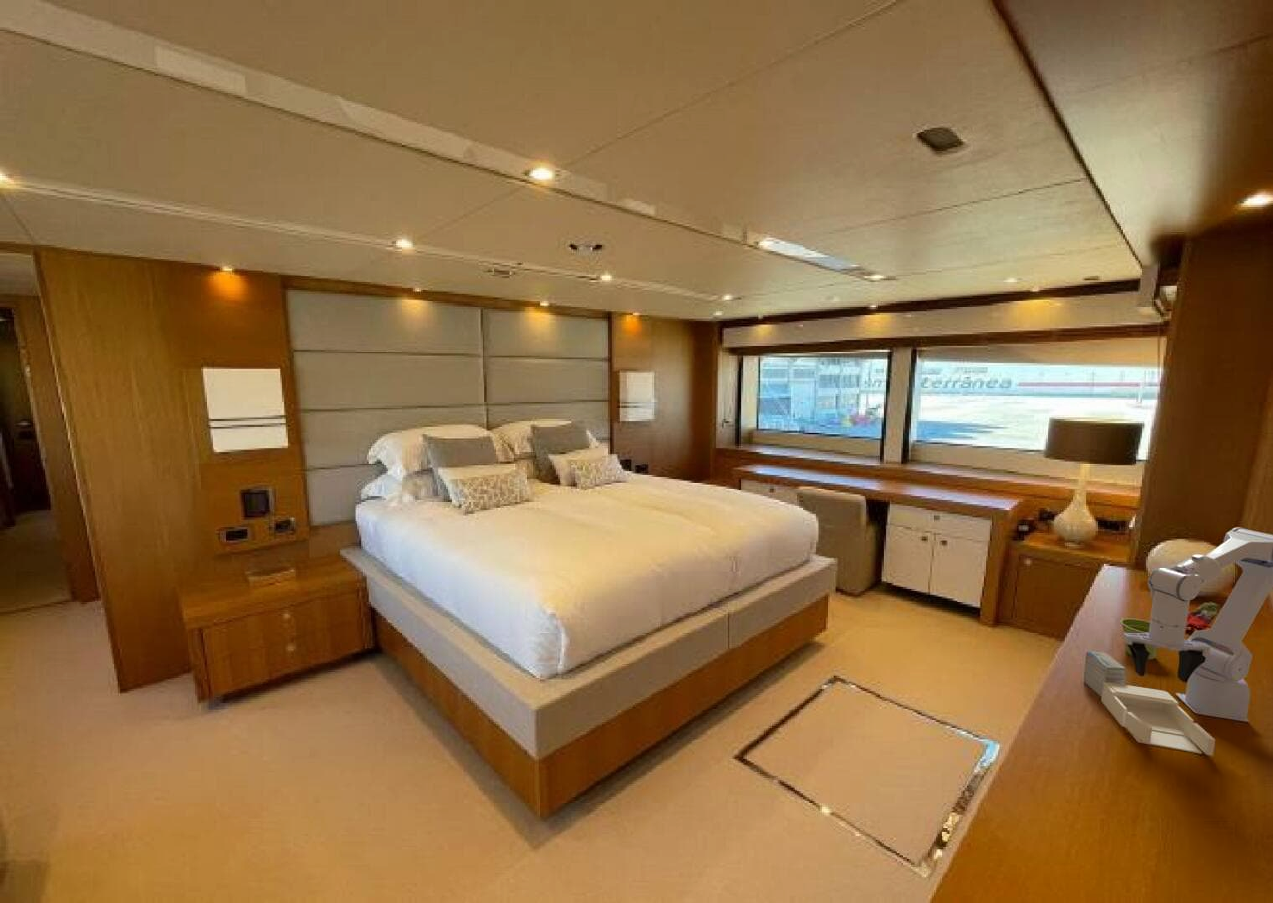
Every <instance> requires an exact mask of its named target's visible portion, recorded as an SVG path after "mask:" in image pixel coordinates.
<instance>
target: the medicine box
mask: <svg viewBox="0 0 1273 903" xmlns="http://www.w3.org/2000/svg"><path fill="white" fill-rule="evenodd" d="M1085 653H1086V654H1085V662H1084V671H1083V682H1084V684H1086V685H1087V686H1088V687H1089V688H1090V689H1091V690H1093V691H1094V692H1095V693H1096V694H1097V695H1098V696H1099V697H1101V698H1102V690H1103V682H1106V683H1107V682H1110V683H1116V684H1123V685H1126V675H1127V668H1126V667H1125V666H1124V665H1122V664H1120V662H1118V661H1117V660H1115V659H1114V657H1112V656H1110V655H1109V654H1108V653H1106V652H1099V651H1086V652H1085Z"/></svg>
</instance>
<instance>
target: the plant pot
mask: <svg viewBox="0 0 1273 903" xmlns="http://www.w3.org/2000/svg"><path fill="white" fill-rule="evenodd" d="M1120 624H1121V625H1122V628H1123V633H1149V627H1150V621H1147V620H1144V619H1137V618H1122V619H1121V620H1120ZM1145 647H1146V650H1147V651H1148V652H1149V653H1150V655H1149V656H1148V659H1147V661H1148V660H1149V661H1151V660H1153V659H1156V657H1157V653H1158V650H1159V648H1160V647H1154V646H1146V645H1145ZM1124 648H1125V652H1126V653H1127V654H1128V655H1130V656H1132V654H1131V652H1130V649H1129V647H1128V645H1127V644H1126V643H1125V642H1124Z"/></svg>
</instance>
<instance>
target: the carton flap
mask: <svg viewBox="0 0 1273 903" xmlns="http://www.w3.org/2000/svg"><path fill="white" fill-rule="evenodd" d="M1189 739H1190V740H1191V741H1192V742H1193V743H1194V745H1195V746H1196V747H1197V748H1198V749H1199V750H1200V751H1201V752H1202V753H1204V754H1205V755H1206V756H1211V757H1213V756H1214V752H1215V751H1214V750H1215V743H1216V739H1215V738H1214V737H1213V736H1212V735H1210V733H1208V732H1207V731H1206V730H1205V729H1204V728H1203V727H1201V725H1199V723H1196V722H1193V723H1191V727H1190V734H1189Z"/></svg>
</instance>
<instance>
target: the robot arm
mask: <svg viewBox="0 0 1273 903" xmlns="http://www.w3.org/2000/svg"><path fill="white" fill-rule="evenodd" d="M1232 564H1236V565H1238V566H1239V567H1240V568H1241V570H1242V573H1241V575H1240V576H1239V578H1238V580H1237V582H1236V584H1235V586H1234V587H1233V588H1232V591H1231V593H1230V594H1229V596H1228V598H1227V599H1226V602H1225V603H1224V604H1223V606H1222V608H1221V610H1220V612H1218V614H1217V616H1216V617H1215V618H1216V619H1214V622H1213V624H1212V625H1211V626H1212V627H1211V628H1208V629H1207V628H1206V630H1200V631H1198V630H1195V631H1192V632H1193V633H1192V634H1191V635H1190V636H1189V637H1188V639H1185V638H1186V637H1185V636H1186V631H1187V630H1186V624H1187V617H1188V613H1189V609H1190V602H1191V600H1194V599H1195V598H1196V597H1197V596H1198V595H1199V593H1200V591H1201V590H1203V588H1204V585H1206V584H1208V583H1210V582H1211V581H1213V580H1215V579H1217V578H1219V577H1220V576H1221V575H1222V569H1223V568H1225V567H1229V566H1230V565H1232ZM1147 586H1148V588H1149V590H1150V593H1149V595H1150V597H1151V598H1152V604H1151V605H1152V606H1151V610H1150V612H1151V613H1150V619H1149V620H1150V621H1149V622H1150V627H1149V633H1124V632H1123V635H1122V641H1123V642H1124V644H1125V643H1126V644H1127V645H1128V647H1129V649H1130V652H1131V654H1132V655H1131V656H1132V660H1133V664H1134V669H1135V673H1136V674H1137V675H1138V676H1140V677H1144V676H1145V673H1146V666H1147V661H1148V660H1147V659H1148V656H1149V655H1150V653H1149V652H1148V651H1147V650H1146V647H1145V645H1146V646H1154V647H1159V648H1161V649H1167V650H1170V651H1174V652H1178V666H1177V667H1178V669H1177V678H1178V679H1179V680H1180V681H1181V682H1182V683H1187V684H1186V690H1185V694H1184V693H1179V692H1176V693H1175V696H1176V697H1178V698H1179V699H1180V700H1181V701H1182V703H1184V704H1185V705H1186V706H1187V707H1188V708H1189V709H1190V710H1191V711H1192V712H1193V713H1195V714H1196V715H1203V716H1209V717H1215V718H1220V719H1221V718H1222V719H1228V720H1232V721H1233V720H1234V721H1240V722H1246V723H1249V718H1247V716H1248V713H1249V712H1248V711H1249V704H1250V699H1251V698H1250V697H1251V692H1250V691H1251V690H1250V687H1249V685H1248V682H1247V681H1246V680H1245V678H1246V677H1247V675H1248V674H1249V670H1250V665H1251V662H1252V660H1253V657H1254V656H1253V655H1252V652H1251V651H1250V650H1249V649H1248V648H1247V646H1246V645H1245V644H1244V642H1243V641H1242V640H1243V639H1244V637H1245V636H1246V634H1247V632H1248V631H1249V628H1251V625H1252V623H1253V622H1254V620H1255V618H1256V616H1257V614H1258V613H1259V611H1260V610H1261V608H1262V606H1263V604H1264V603H1265V601H1266V600H1267V597H1268V595H1269V594H1270V592H1271V590H1273V589H1272V588H1273V534H1270V533H1265V532H1261V531H1255V530H1250V529H1247V528H1244V527H1240V526H1238V527H1237V526H1236V527H1234V528H1232V529H1231V530H1229V531H1227V532H1226V533H1225V536H1224V538H1223V541H1222V543H1221V544H1219V545H1218V546H1217V547H1215V548H1214V549H1212V550H1211V551H1209V552H1208V553H1207V554H1205V555H1203V554H1193V555H1191V556H1189V557H1187V558H1185V559H1184V560H1181V561H1180V562H1179V563H1176V564H1175V565H1173V566H1170V567H1160V568H1156V569H1154V570H1153V571H1152V572H1151V573H1150V575H1149V578H1148V579H1147Z"/></svg>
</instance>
